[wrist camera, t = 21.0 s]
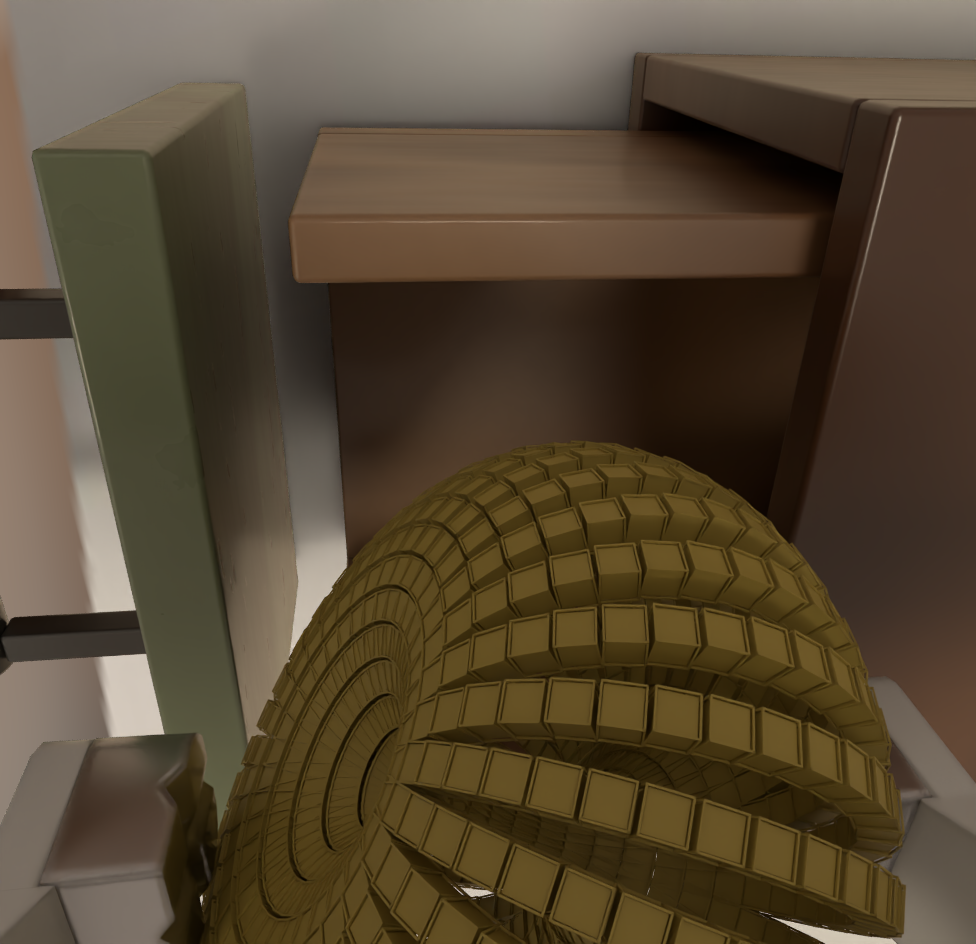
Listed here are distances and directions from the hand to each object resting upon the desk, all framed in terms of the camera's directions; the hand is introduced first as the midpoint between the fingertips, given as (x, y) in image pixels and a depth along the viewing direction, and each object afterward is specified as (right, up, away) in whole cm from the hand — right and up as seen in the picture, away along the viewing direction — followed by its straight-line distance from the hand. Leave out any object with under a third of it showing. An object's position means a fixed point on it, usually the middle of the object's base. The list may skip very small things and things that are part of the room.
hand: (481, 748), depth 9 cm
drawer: (-1, +5, +9) cm, 11 cm away
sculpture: (0, +2, +3) cm, 3 cm away
